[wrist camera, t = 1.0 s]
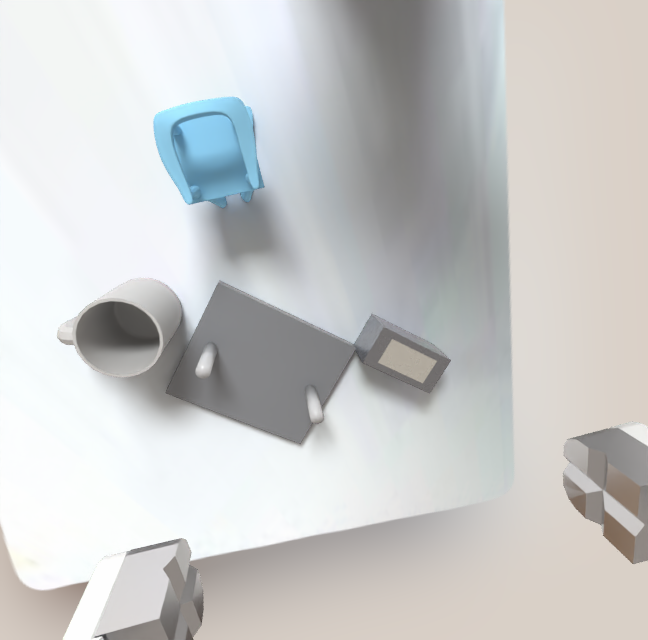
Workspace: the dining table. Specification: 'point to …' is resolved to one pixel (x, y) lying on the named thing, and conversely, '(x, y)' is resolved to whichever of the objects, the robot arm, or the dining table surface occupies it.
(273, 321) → the grey peg base
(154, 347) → the cup
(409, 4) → the dining table surface
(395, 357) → the block
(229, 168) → the chair
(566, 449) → the robot arm
